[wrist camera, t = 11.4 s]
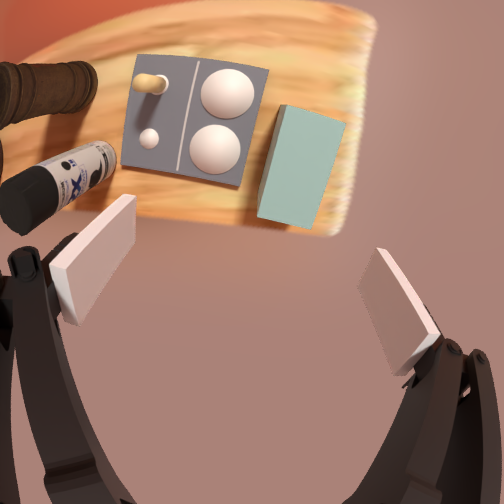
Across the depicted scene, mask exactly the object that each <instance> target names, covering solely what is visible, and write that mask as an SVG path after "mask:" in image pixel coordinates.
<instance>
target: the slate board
mask: <svg viewBox="0 0 504 504" xmlns="http://www.w3.org/2000/svg"><path fill="white" fill-rule="evenodd" d="M268 72H269V70H268V69H263V68H259V67H254V66H249V65H244V64H238V63H233V62H227V61H220V60H213V59H205V58H196V57H186V56H173V55H151V54H137V58H136V62H135V67H134V72H133V76H132V82H131V87H130V92H129V98H128V104H127V110H126V117H125V125H124V133H123V142H122V152H121V163H120V165H127V166H133V167H140V168H146V169H152V170H158V171H164V172H170V173H175V174H181V175H186V176H192V177H197V178H202V179H207V180H212V181H217V182H221V183H226V184H231V185H235V186H240V184H241V180H242V176H243V171H244V167H245V163H246V159H247V155H248V150H249V146H250V142H251V138H252V134H253V130H254V126H255V122H256V118H257V114H258V110H259V106H260V103H261V99H262V95H263V91H264V87H265V83H266V80H267V76H268Z"/></svg>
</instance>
